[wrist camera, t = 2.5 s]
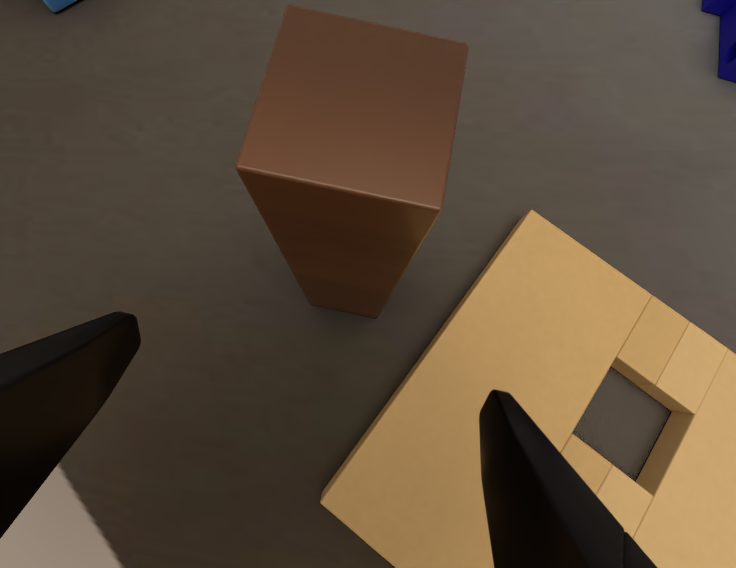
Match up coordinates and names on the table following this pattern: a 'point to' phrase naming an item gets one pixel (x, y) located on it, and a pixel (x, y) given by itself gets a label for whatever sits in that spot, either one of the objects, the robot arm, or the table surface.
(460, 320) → the pad
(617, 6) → the table surface
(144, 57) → the table surface
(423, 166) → the peg
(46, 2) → the ink box
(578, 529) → the robot arm
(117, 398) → the table surface
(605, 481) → the pad
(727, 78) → the blue cradle bracket
